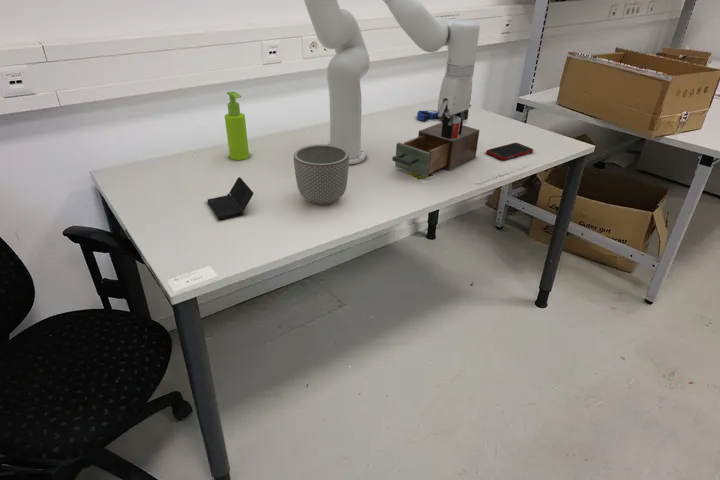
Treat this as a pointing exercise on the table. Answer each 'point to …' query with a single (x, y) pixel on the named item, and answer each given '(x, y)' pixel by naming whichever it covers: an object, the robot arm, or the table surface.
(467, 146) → the cabinet
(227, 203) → the handheld gaming console
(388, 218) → the table surface
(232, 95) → the soap dispenser
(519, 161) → the table surface
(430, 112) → the bar clamp
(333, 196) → the planter
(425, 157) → the drawer
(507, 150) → the cell phone
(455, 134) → the shaker
